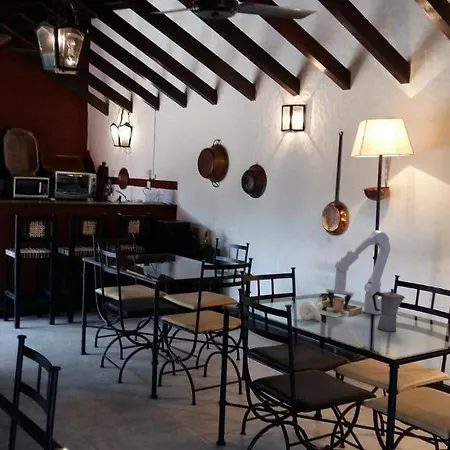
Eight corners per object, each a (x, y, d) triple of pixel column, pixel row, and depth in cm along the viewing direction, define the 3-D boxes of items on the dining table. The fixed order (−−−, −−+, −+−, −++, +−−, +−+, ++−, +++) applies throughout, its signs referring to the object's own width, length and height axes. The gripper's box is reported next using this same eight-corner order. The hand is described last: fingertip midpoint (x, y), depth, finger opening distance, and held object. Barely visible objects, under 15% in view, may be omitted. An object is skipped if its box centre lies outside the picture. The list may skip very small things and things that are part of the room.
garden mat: (343, 315, 324) (343, 314, 324) (335, 317, 318) (335, 317, 318) (319, 310, 333) (319, 309, 333) (312, 312, 326) (312, 311, 326)
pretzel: (328, 323, 306) (329, 305, 305) (305, 323, 303) (307, 305, 302) (318, 317, 317) (319, 300, 316) (296, 317, 313) (297, 300, 312)
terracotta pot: (345, 310, 334) (346, 299, 334) (340, 312, 330) (341, 300, 329) (336, 309, 338) (337, 297, 337) (331, 310, 334) (332, 298, 333)
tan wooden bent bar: (361, 312, 332) (362, 307, 332) (350, 316, 323) (351, 310, 322) (327, 305, 346) (327, 300, 345) (315, 308, 336) (315, 303, 336)
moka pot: (404, 333, 295) (408, 291, 293) (372, 331, 295) (375, 289, 293) (399, 327, 304) (402, 287, 302) (367, 325, 305) (371, 285, 303)
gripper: (355, 283, 333) (353, 308, 334) (329, 279, 339) (327, 304, 341) (352, 285, 327) (350, 310, 328) (325, 281, 333) (323, 306, 334)
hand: (338, 307), depth 334 cm, fingers open, 7 cm apart
